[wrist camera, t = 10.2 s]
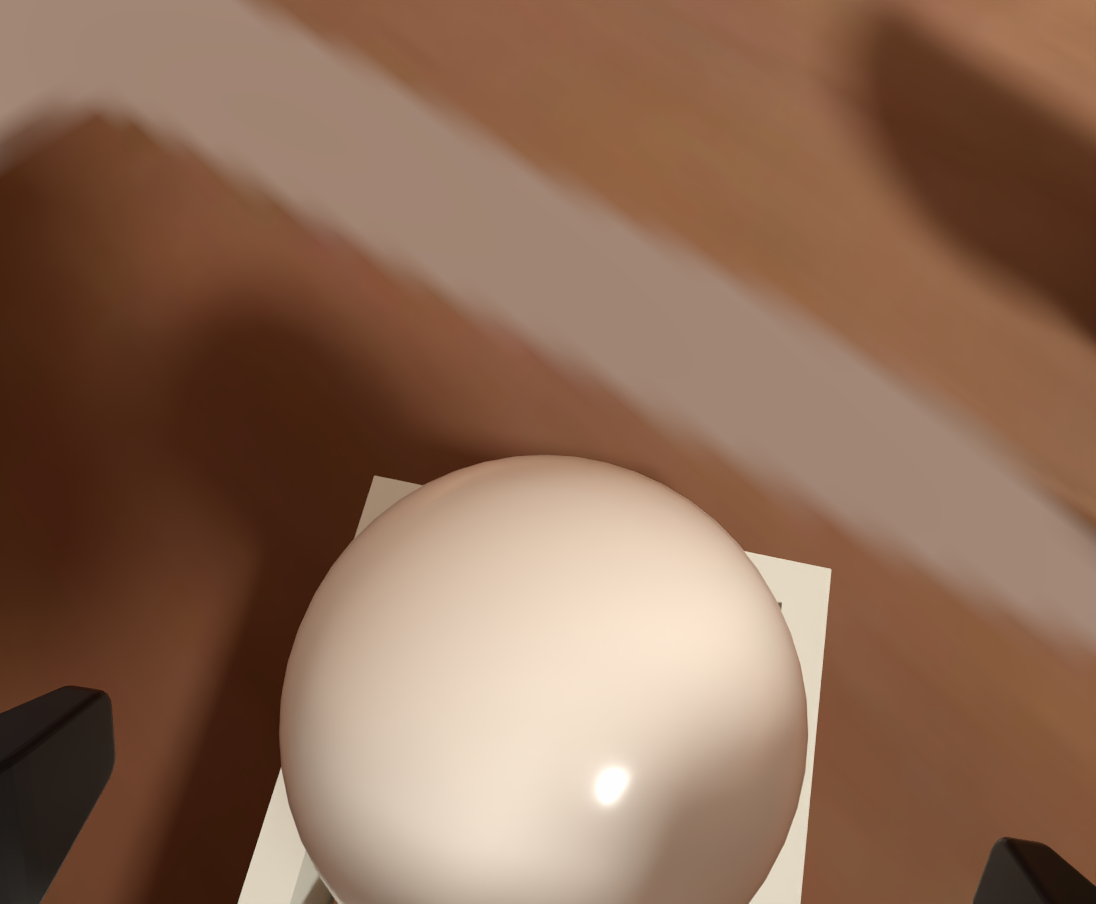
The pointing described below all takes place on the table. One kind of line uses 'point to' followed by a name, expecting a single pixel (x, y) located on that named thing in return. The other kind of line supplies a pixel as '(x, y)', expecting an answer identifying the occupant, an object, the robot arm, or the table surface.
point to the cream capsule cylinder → (543, 699)
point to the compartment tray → (802, 594)
